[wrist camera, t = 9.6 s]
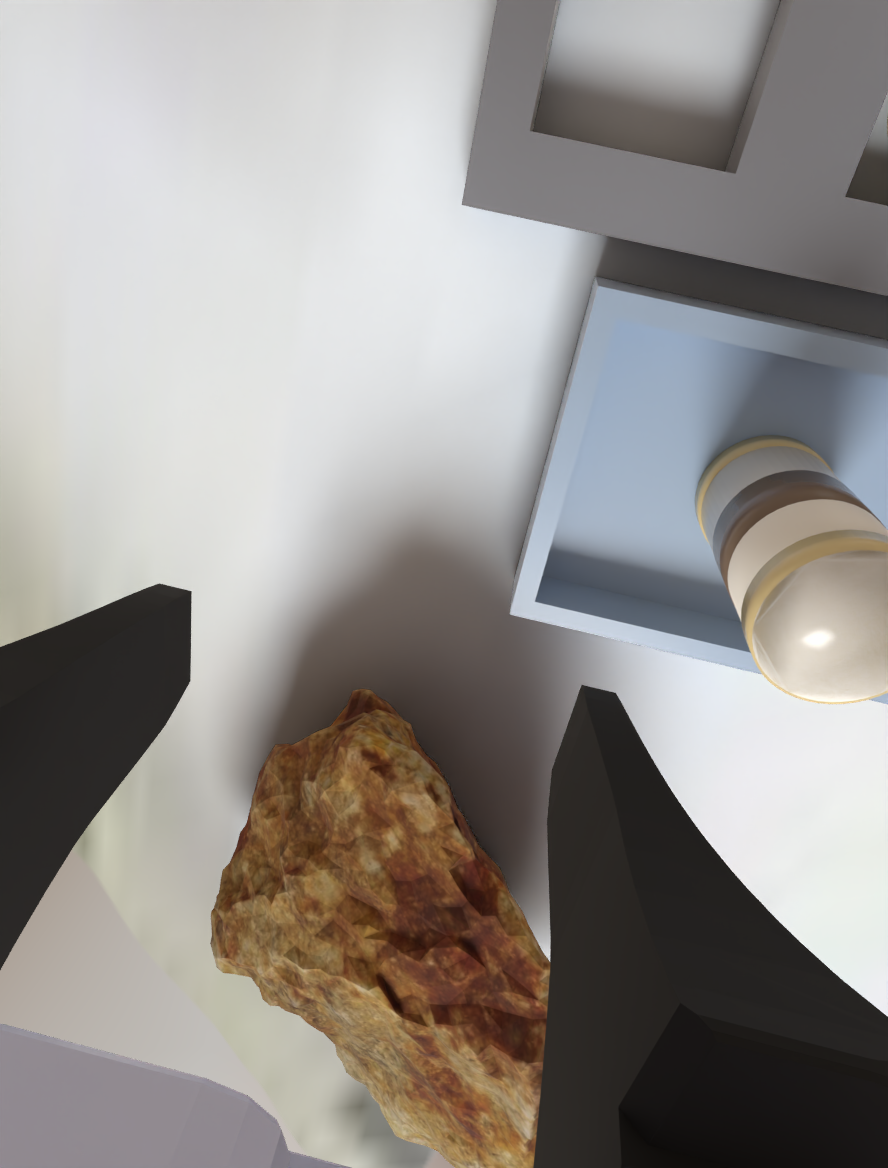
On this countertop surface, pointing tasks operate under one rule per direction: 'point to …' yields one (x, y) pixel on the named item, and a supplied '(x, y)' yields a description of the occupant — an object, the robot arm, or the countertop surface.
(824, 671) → the scorched fuse
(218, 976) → the countertop surface
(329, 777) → the rock
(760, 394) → the parts tray
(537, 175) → the fuse block
